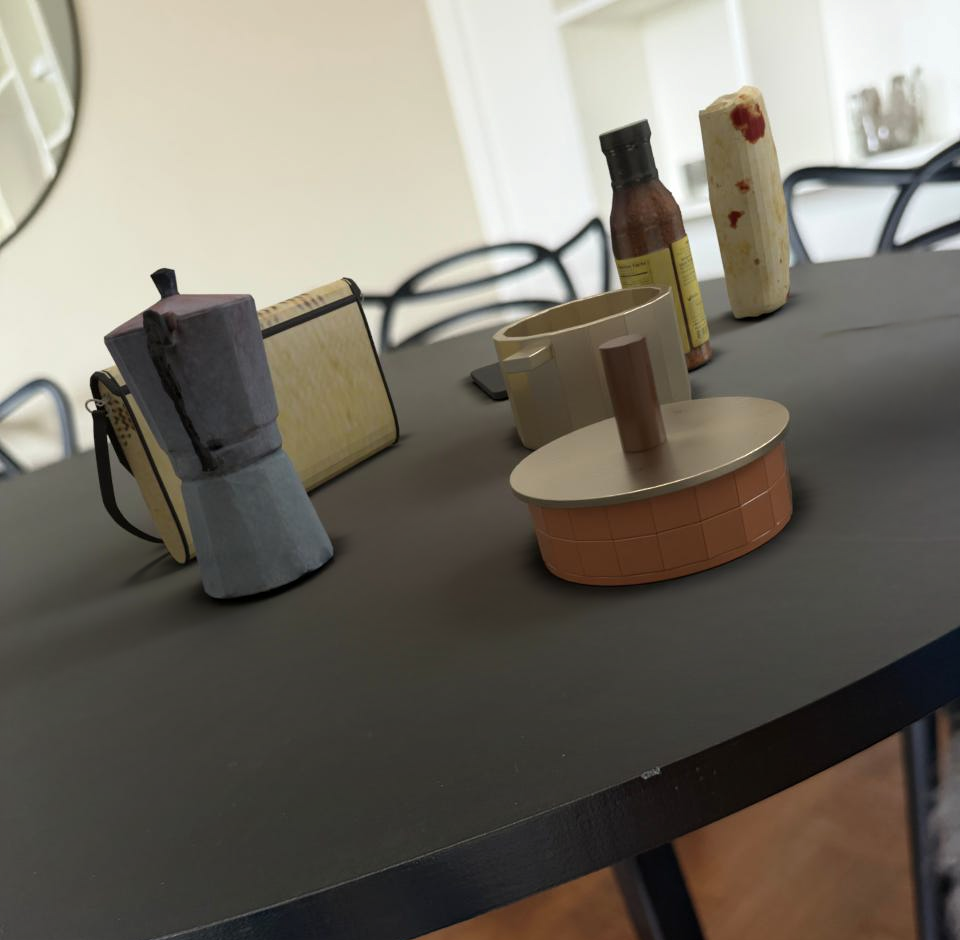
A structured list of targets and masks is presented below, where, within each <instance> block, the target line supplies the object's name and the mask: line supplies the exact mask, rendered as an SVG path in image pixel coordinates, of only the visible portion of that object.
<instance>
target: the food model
mask: <svg viewBox="0 0 960 940" xmlns="http://www.w3.org/2000/svg"><path fill="white" fill-rule="evenodd" d="M698 121H699V128H700V134H701V135H700V136H701V141H702V148H703V149H702V150H703V156H704V162H705V170H706V178H707V188H708V189H707V190H708V201H709V206H710V207H709V208H710V211H711V212H710V213H711V216H712V220H713V221H712V222H713V225H714V228H715V233H716V238H717V243H718V249H719V253H720V258H721V264H722V269H723V273H724V277H725V279H724V280H725V284H726V291H727V296H728V300H729V301H728V302H729V304H730V307H731V308H730V309H731V310H732V313H733V316H734V318H736V319H744V318H748V317H751V318H752V317H759V316H761V315H763V314H769V313H772V312H774V311H776V310H778V309H779V308H781V307H783V306H784V305H785V304H786V303H787V302H788V299H789V297H790V290H791V284H790V260H791V250H790V249H791V248H790V234H789V232H790V231H789V220H788V210H787V209H788V208H787V204H786V203H787V202H786V198H785V197H786V196H785V192H784V186H783V182H782V176H781V169H780V163H779V157H778V151H777V147H776V144H775V141H774V136H773V131H772V128H771V122H770V119H769V114H768V109H767V107H766V103H765V99H764V96H763V94H762V91H761V90H760V89H759V88H757V87H755V86H751V85H743V86H741V88H740V89H738V91H735V92H732V93H727V94H723V95H721V96H719V97H717V98H716V99H715V100H714V101H713V102H712V103H710V104H709V105H708V106H706V108H704V109H701V110H698Z"/></svg>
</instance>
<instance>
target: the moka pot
mask: <svg viewBox="0 0 960 940" xmlns="http://www.w3.org/2000/svg"><path fill="white" fill-rule="evenodd" d="M149 277H150V278H151V280H152V282H153V284H154V286H155V287H156V289H157V291H158V294H159V295H160V299H159V300H157V301H156V302H155V303H153V304H152V305H150V306H149V307H147V308H146V309H144V310H142V311H141V312H140V313H138V314H136V315H135V316H133V317H131V318H129V319H128V320H127V321H125V322H123V323H122V324H120V325H118V326H116V328H114V329H113V330H111V331H109V332H108V333H107V334H105V335H104V336H103V343H104V345H105V347H106V349H107V351H108V353H109V355H110V356H111V359H112V360H113V362H114V363H115V364H114V365H116V366H117V368H118V369H119V371H120V373H121V375H122V377H123V379H124V381H125V383H126V385H127V387H128V388H129V390H130V392H131V394H132V396H133V398H134V400H135V401H136V403H137V405H138V407H139V409H140V411H141V413H142V415H143V417H144V418H145V420H146V422H147V424H148V426H149V428H150V430H151V432H152V434H153V435H154V437H155V439H156V441H157V443H158V445H159V446H160V448H161V449H162V450H163V451H164V452H165V453H166V454H167V455H168V457H169V460H170V462H171V465H172V467H173V470H174V472H175V475H176V476H177V477H178V478H179V479H181V481H182V482H181V493H182V497H183V500H184V504H185V509H186V514H187V518H188V522H189V526H190V530H191V534H192V538H193V543H194V547H195V552H196V556H195V557H196V560H197V564H198V568H199V572H200V576H201V581H202V585H203V589H204V593H206V594H207V595H208V596H209V597H211V598H214V599H221V600H225V599H235V598H240V597H244V596H251V595H257V594H260V593H265V592H266V593H267V592H270V591H271V590H273V589H274V590H275V589H277V588H279V587H281V586H284V585H288V584H289V583H292V582H294V581H297V580H298V579H300V578H302V577H304V576H306V575H308V574H310V573H312V572H314V571H316V570H317V569H319V568H321V567H322V566H323V565H324V564H326V563H328V562H329V561H330V560H331V559H332V557H333V556H334V547H333V545H332V542H331V540H330V537H329V535H328V533H327V531H326V529H325V527H324V524H323V523H322V522H321V520H320V517H319V515H318V513H317V510H316V508H315V506H314V505H313V503H312V501H311V499H310V497H309V495H308V492H307V493H306V491H305V489H304V486H303V484H302V482H301V480H300V478H299V476H298V474H297V472H296V470H295V468H294V466H293V464H292V462H291V460H290V458H289V456H288V454H287V453H286V451H284V450H282V449H281V447H282V442H283V440H282V437H281V434H280V431H279V428H278V424H277V421H276V418H277V416H278V415H279V410H278V405H277V400H276V396H275V391H274V387H273V382H272V378H271V373H270V369H269V365H268V361H267V356H266V351H265V346H264V342H263V337H262V332H261V328H260V323H259V319H258V314H257V311H258V309H257V306H256V301H255V298H254V297H253V295H252V294H250V293H180V292H179V289H178V282H177V275H176V270H175V269H172V268H168V267H161V268H159V269H156V270H155V271H154V272H153V273H150V275H149Z"/></svg>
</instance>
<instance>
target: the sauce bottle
mask: <svg viewBox="0 0 960 940" xmlns="http://www.w3.org/2000/svg"><path fill="white" fill-rule="evenodd" d="M651 137H652V129H651V126H650V123H649V120H648V118H643V119H640V120H636V121H633V122H630V123H627V124H624V125H623V126H622V125H621V126H618V127H615V128H613V129H610V130H607V131H604V132H602V133H600V134H599V135H598V140H599V144H600V151H601V152H602V154H603V155H604V157H605V160H606V164H607V165H606V166H607V168H608V173H609V178H610V181H611V182H610V187H611V189H612V200H611V208H610V214H609V231H610V232H609V233H610V239H611V241H610V242H611V251H612V255H613V258H614V259H613V260H614V262H615V266H616V270H617V274H618V279H619V282H620V287H621V289H623V288H628V287H634V286H641V285H652V284H662V285H668V286H671V287H672V292H673V298H674V303H675V308H676V313H677V318H678V323H679V329H680V334H681V339H682V344H683V349H684V354H685V360H686V365H687V370H688V372H689V371H692V370H695V369H696V368H698V367H701V366H703V365H705V364H706V363H708V362H709V360H710V359H711V358H712V355H713V352H712V347H711V345H710V341H709V339H710V331H709V326H708V322H707V318H706V313H705V309H704V304H703V301H702V296H701V290H700V286H699V282H698V278H697V273H696V268H695V264H694V259H693V254H692V250H691V245H690V241H689V235H688V234H687V232H686V228H685V225H684V220H683V215H682V211H681V207H680V205H679V203H677V200H676V198H675V197H674V195H673V192H672V191H670V190H669V189H668V188H667V186H665V184H664V183H663V182H662V181H661V179H660V175H659V168H657V165H656V161H655V156H654V152H653V147H652V143H651V139H652V138H651Z"/></svg>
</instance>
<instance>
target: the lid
mask: <svg viewBox="0 0 960 940" xmlns="http://www.w3.org/2000/svg"><path fill="white" fill-rule="evenodd" d="M599 350H600V354H601V359H602V363H603V368H604V372H605V376H606V381H607V385H608V390H609V394H610V398H611V403H612V407H613V412H614V416H615V417H613V418H610V419H607V420H604V421H601V422H598V423H595V424H592V425H589V426H587V427H584V428H581V429H579V430H576V431H574V432H572V433H569V434H567V435H565V436H562V437H560V438H558V439H556V440H554V441H552V442H550V443H548V444H547V445H545V446H543V447H541V448H539V449H538V450H534V451H533V452H532V453H530V454H529V455H527V456H526V457H525V458H523V459H522V460H521V461H520V462H519V463H518V464H517V465H516V466H515V467H514V469H513V470H512V471H511V474H510V476H509V486H510V490H511V492H512V494H513V496H514V497H516V499H518V501H521V502H523V503H525V504H527V505H528V504H531V505H534V506H540V507H546V508H561V509H564V508H590V507H600V506H608V505H616V504H622V503H628V502H634V501H639V500H643V499H648V498H653V497H657V496H661V495H665V494H669V493H673V492H676V491H680V490H683V489H686V488H690V487H693V486H696V485H699V484H702V483H705V482H707V481H710V480H713V479H716V478H718V477H721V476H723V475H726V474H728V473H730V472H733V471H735V470H737V469H739V468H741V467H743V466H745V465H748V464H749V463H751V462H753V461H755V460H757V459H758V458H760V457H762V456H763V455H765V454H766V453H768V452H769V451H771V450H772V449H773V448H775V447H776V446H777V445H778V444H779V443H781V441H782V440H783V439H784V440H785V438H786V437H787V436H788V434H789V432H790V430H791V424H792V423H791V416H790V413H789V411H788V409H787V408H786V407H785V406H784V405H783V404H781V403H779V402H777V401H774V400H771V399H768V398H760V397H755V396H754V397H752V396H717V397H706V398H696V399H692V400H688V401H682V402H676V403H670V404H665V405H660V402H659V397H658V392H657V387H656V382H655V378H654V373H653V368H652V363H651V358H650V354H649V349H648V344H647V339H646V335H645V334H632V335H627V336H623V337H619V338H616V339H613V340H610V341H607V342H605V343H603V344H602V345H600V346H599Z"/></svg>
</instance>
